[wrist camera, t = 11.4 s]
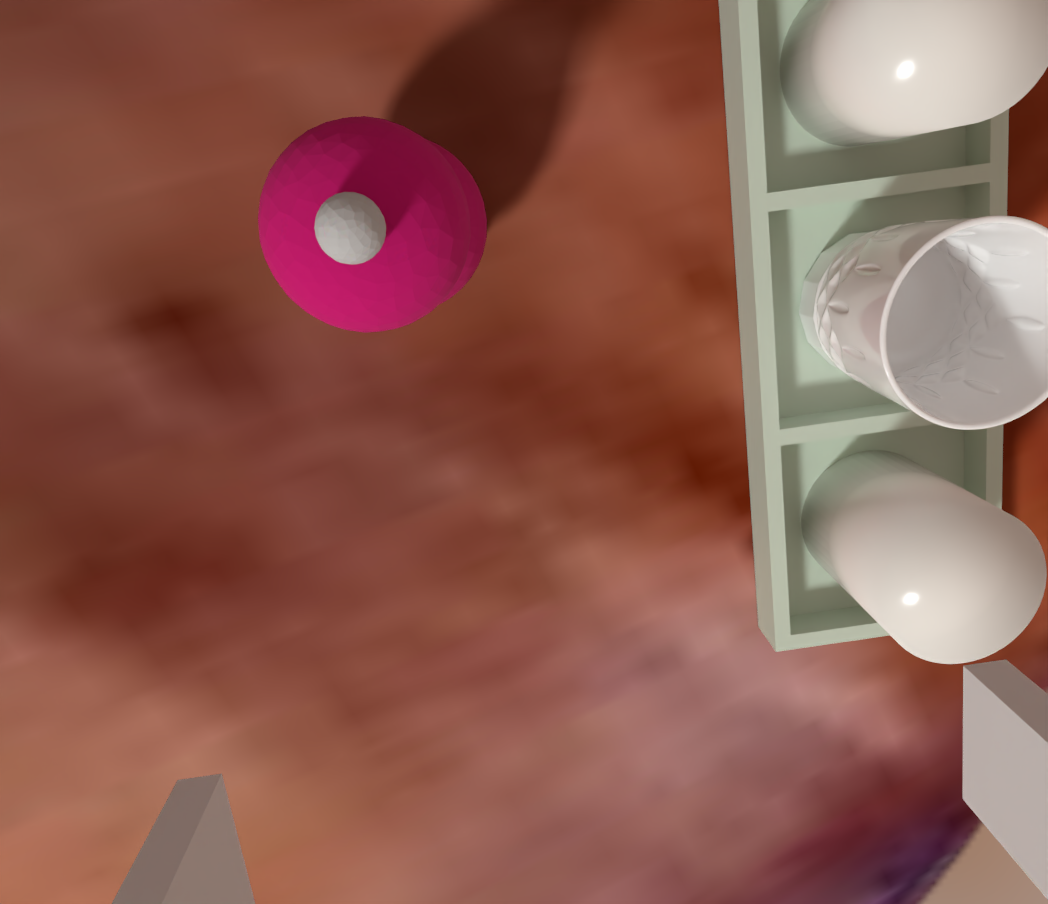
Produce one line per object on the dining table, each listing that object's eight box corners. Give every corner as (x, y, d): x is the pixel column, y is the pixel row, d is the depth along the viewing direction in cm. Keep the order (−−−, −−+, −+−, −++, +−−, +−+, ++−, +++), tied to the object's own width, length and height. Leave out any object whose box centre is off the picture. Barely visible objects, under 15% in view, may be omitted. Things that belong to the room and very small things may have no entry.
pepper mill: (517, 213, 40) (555, 207, 21) (422, 334, 42) (376, 432, 22) (392, 108, 39) (310, -3, 20) (298, 236, 40) (133, 251, 21)
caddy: (714, -58, 38) (733, -80, 35) (974, -92, 38) (1012, -116, 35) (758, 626, 47) (775, 651, 44) (969, 596, 47) (999, 619, 44)
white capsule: (797, 460, 43) (878, 520, 35) (934, 440, 43) (1049, 495, 35) (804, 588, 45) (882, 674, 36) (935, 568, 45) (1044, 650, 37)
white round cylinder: (775, -12, 38) (864, -82, 29) (933, -33, 38) (1069, -108, 29) (783, 156, 40) (869, 137, 31) (933, 136, 40) (1061, 112, 31)
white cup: (944, 204, 40) (1092, 199, 31) (948, 368, 43) (1087, 412, 33) (779, 231, 40) (875, 234, 31) (791, 394, 42) (885, 445, 33)
